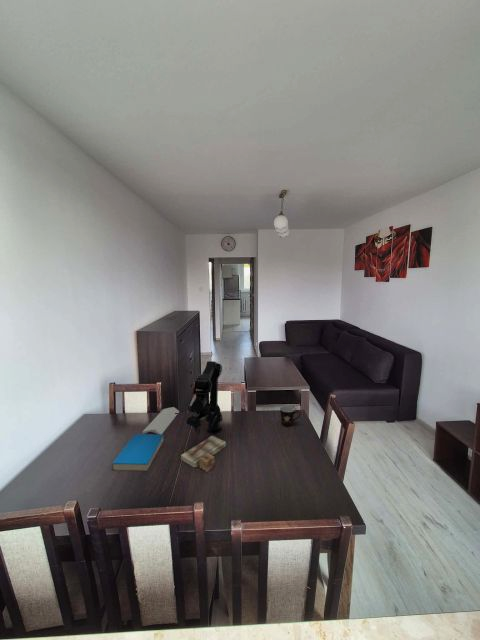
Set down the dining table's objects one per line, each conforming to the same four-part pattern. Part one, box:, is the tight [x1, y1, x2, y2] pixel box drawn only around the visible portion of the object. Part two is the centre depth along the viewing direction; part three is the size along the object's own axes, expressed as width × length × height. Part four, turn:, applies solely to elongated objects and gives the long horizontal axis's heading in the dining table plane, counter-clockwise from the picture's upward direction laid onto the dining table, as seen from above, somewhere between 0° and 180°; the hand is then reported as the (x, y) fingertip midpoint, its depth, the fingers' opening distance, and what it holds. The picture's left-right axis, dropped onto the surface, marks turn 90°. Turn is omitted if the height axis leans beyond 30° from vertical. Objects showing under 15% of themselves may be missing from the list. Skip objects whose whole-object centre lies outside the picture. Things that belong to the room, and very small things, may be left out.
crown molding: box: [141, 406, 180, 435], centre depth 174 cm, size 29×12×4 cm, turn 172°
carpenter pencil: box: [190, 439, 209, 455], centre depth 142 cm, size 14×1×1 cm, turn 149°
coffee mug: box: [279, 405, 301, 428], centre depth 168 cm, size 12×9×10 cm
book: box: [111, 433, 165, 472], centre depth 141 cm, size 17×4×25 cm
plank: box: [180, 435, 227, 468], centre depth 142 cm, size 22×10×2 cm, turn 141°
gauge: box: [199, 453, 216, 473], centre depth 131 cm, size 5×5×6 cm
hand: (204, 430), depth 142 cm, fingers open, 9 cm apart
